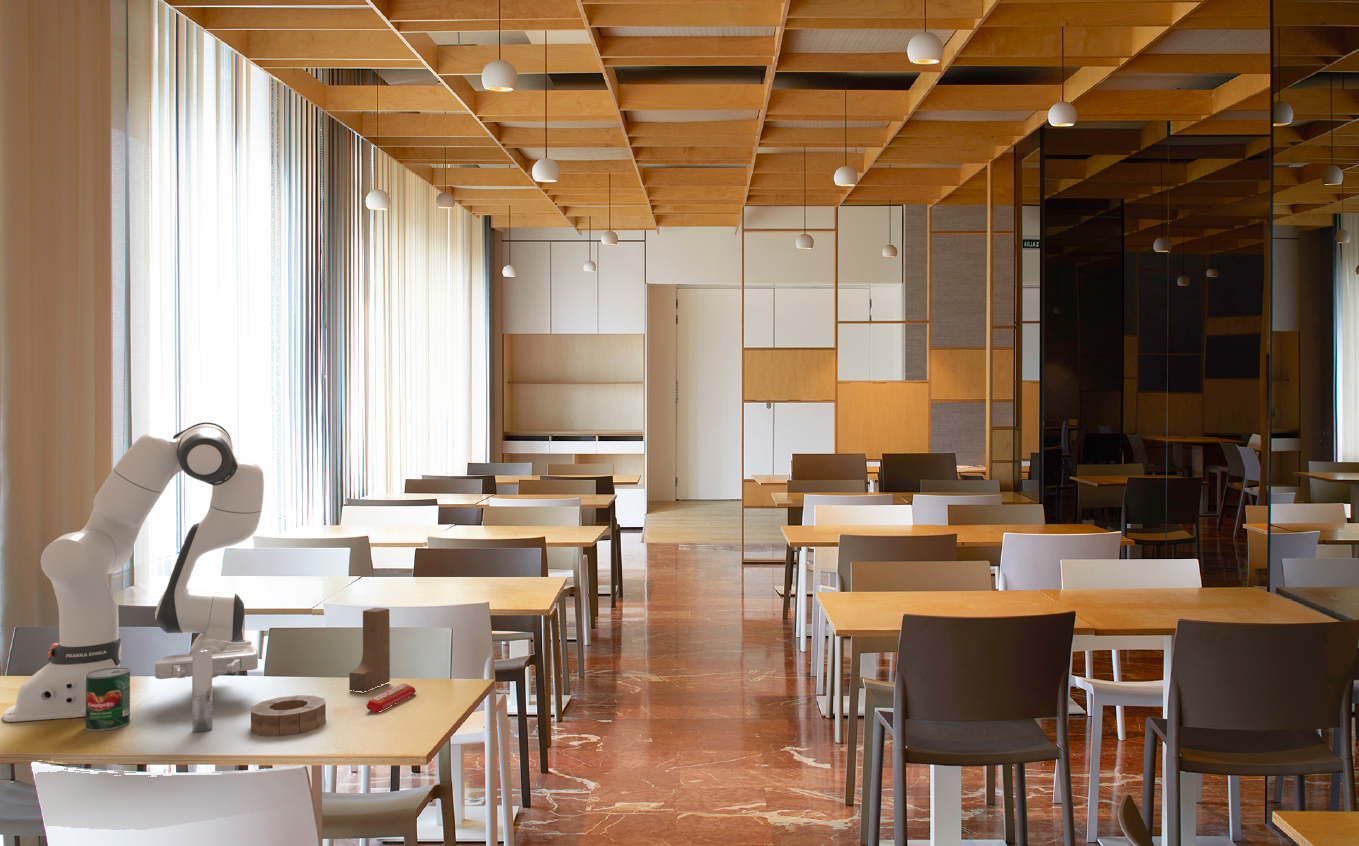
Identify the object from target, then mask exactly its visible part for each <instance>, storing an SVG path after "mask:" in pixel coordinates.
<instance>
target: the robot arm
mask: <svg viewBox="0 0 1359 846" xmlns="http://www.w3.org/2000/svg"><path fill="white" fill-rule="evenodd" d="M232 442H233V441H232V438H231V436H230V434H229V432H228V431H227V430H226V429H225V428H224V427H223V426H221V425H220V424H217V423H215V422H214V423H213V422H205V421H204V422H200V423H199V422H198V423H195V424H193V425H191V426H189V427H188V428H186V429H183V430H182V431H180V432H178V433H175V434H174V435H173V437H172V438H171V437H169V436H167V435H164V434H161V433H156V432H155V433H153V432H151V433H145V434H143V435H142V436H140V437H139V438H138V439H137V440H136V441H135V442H134V443H133V444H132V445H131V446H130V447H129V448H128V449H127V450H126V452H125V453H124V454H123V455H122V456H121V458H119V461H117V463H116V464H115V466H114V467H113V469H112V470H111V472H110V473H109V475H108V476H107V478H105V481H104V482H103V484H102V485H101V486H100V488H99V490H98V492H96V494H95V496H94V498H93V508H92V511H91V514H90V517H89V519H88V521H87V522H86V524H85V526H84V527H82V529H81V530H79V531H75V532H69V533H66V534H63V535H61V536H59V537H58V538H56V539H54V540H53V541H52V542H51V543H49V544H48V545H47V546H46V547H45V548H44V550H43V551H42V553H41V556H40V568H41V570H42V571H43V573H44V575H45V576H46V577H47V578H48V579H49V580H50V581H51V584H52V587H53V591H54V595H55V598H56V601H57V607H58V617H59V618H58V622H59V623H58V625H59V627H58V629H59V643H58V642H54V643H52V645H50V647H49V649H48V653H47V659H48V663H47V664H46V665H44V666H43V667H42V668H41V669H39V670H38V671H36V672H35V673H34V674H33V675H32V676H30V677H29V678H28V679H26V680H25V681H24V682H23V683H22V684H21V685H20V688H19V690H18V693H17V695H16V701H15V704H13V705H11V706H9V707H7V709H5V710H4V712H3V715H2V719H3V721H4V722H7V723H10V722H12V723H13V722H28V721H41V720H53V719H55V720H57V719H70V718H82V717H86V674H87V673H89V672H92V671H95V670H100V669H105V668H115V667H121V666H120V665H121V662H122V642H121V640H122V639H121V638H120V637H119V602H118V601H117V600H116V599H115V598H114V596H113V594H112V593H113V592H112V590H111V587H110V583H109V577H108V576H109V575H111V574H112V573H115V572H117V571H118V570H120V569H121V568H123V566H125V565H126V564H127V563H128V562H129V560H130V559H131V558H132V555H133V552H134V546H135V543H136V541H137V539H138V536H139V533H140V530H141V528H142V526H143V525H144V523H145V521H146V519H147V517H148V515H149V513H150V512H151V511H152V509H153V508H154V506H155V504H156V503H157V501H159V499H160V497H161V496H162V494H163V493H164V491H165V489H166V487H167V486H168V484H169V483H170V481H171V480H172V479H173V477H175V476H176V475H178V473H180V472H182V471H183V472H184V473H185V474H186V475H188V476H189V477H191V478H192V479H195V480H197V481H201V482H204V483H206V484H209V485H211V488H212V489H211V490H212V492H211V497H210V502H209V507H208V508H209V509H208V511H207V513H206V515H205V516H204V518H203V519H202V520H201V521H200V522H197V523H195V524H193V525H192V526H191V528H189V530H188V531H187V534H186V537H185V540H184V543H183V545H182V546H181V549H180V551H179V553H178V556H177V559H176V562H175V564H174V567H173V570H172V572H171V575H170V576H169V577H170V578H169V581H168V584H167V586H166V588H165V590H164V591H163V593H162V596H160V599H159V600H158V603H157V606H156V608H155V611H154V612H155V613H154V619H155V624H156V625H157V626H158V627H159V628H160V629H161V630H162V631H163V632H165V633H166V634H183V633H188V634H189V633H192V634H198V636H197V637H196V638H195V639H194V641H193V642H192V644H191V647H190V649H189V653H185V654H174V655H167V656H162V657H160V658H159V659H158V660H157V661H156V662H155V666H154V676H155V678H156V679H158V680H165V679H174V678H175V679H176V678H177V679H184V678H187V677H192V651H194V650H198V649H212V679H214V678H215V679H216V678H217V677H219V676H223V675H226V674H231V673H232V674H233V673H235V672H244V671H255V670H257V669H258V667H259V666H258V665H259V660H258V658H259V657H258V656H259V653H258V649H257V648H256V646H254V645H252V640H248V639H247V640H246V639H239V638H240V637H241V634H242V630H243V626H244V620H245V619H244V618H245V605H244V602H243V600H242V599H241V597H240V596H239V595H238V594H237V593H232V592H231V593H230V592H219V591H214V592H213V591H201V590H200V591H199V590H191V589H189V588H188V587H187V586H188V584H189V582H190V581H189V580H190V578H191V577H192V573H193V570H194V568H195V565H196V562H197V560H199V558H200V557H201V556H202V555H204V554H206V553H208V552H210V551H211V552H212V551H214V550H217V549H221V548H225V547H231V546H234V545H237V544H240V543H243V542H244V541H246V540H247V539H249V538H250V537H252V536H253V535H254V534H255V532H256V531H257V528H258V525H259V523H260V518H261V514H262V509H263V503H264V491H265V490H264V489H265V486H264V485H265V484H264V483H265V482H264V481H265V480H264V473H263V470H262V468H261V467H260V466H259V465H258V464H257V463H255V462H252V461H250V460H247V459H246V460H245V459H240V458H238V457H236V456H235V454H234V450H233V449H234V448H233V443H232Z"/></svg>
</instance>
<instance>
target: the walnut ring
mask: <svg viewBox="0 0 1359 846" xmlns="http://www.w3.org/2000/svg"><path fill="white" fill-rule="evenodd" d="M326 706H327V704H326V698H325V697H321V696H316V695H304V694H303V695H302V694H301V695H298V694H297V695H296V694H295V695H289V696H281V697H280V696H279V697H276V698H271V699H266V700H263V701H260V702H258V703H256V704H254V705H252V706H251V708H250V732H251V733H253V734H257V735H259V736H263V737H264V736H266V737H267V736H270V737H272V736H273V737H282V736H287V735H289V736H290V735H296V734H297V735H298V734H301V733H305V732H309V731H313V730H316V729H317V728H318V729H319V728H320V727H321V726H323V725H324V724H326V720H327V719H326V718H327V717H326V716H327V714H326V713H327V712H326V711H327V710H326Z"/></svg>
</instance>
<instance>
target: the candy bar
mask: <svg viewBox="0 0 1359 846" xmlns="http://www.w3.org/2000/svg"><path fill="white" fill-rule="evenodd" d="M416 693H417V690H416V688H415V687H414V686H412V685H410V684H408V683H401V684H399V685H397V686H395V687H393V688H390V689H388V690H386V691H384V692H382V693H379V694H378V695H375V696H374V697H372V698H370V699H369V700H368V702H367V704H365V706H366V708H367V710H370V711H373V712H374V711H375V713H377V712H379V711H381V710H384V709H386V708H388V707H390V706H391V705H394V704H395V703H398V702H400V701H402V700H404V699H406V698H408V697H410V696H412V695H413V694H414V695H415V694H416ZM414 695H413V696H414ZM413 696H412V697H413ZM410 698H411V697H410ZM408 699H409V698H408ZM406 700H407V699H406ZM404 701H405V700H404ZM402 702H403V701H402ZM400 703H401V702H400ZM398 704H399V703H398ZM394 706H395V705H394ZM390 708H391V707H390ZM388 709H389V708H388ZM386 710H387V709H386ZM384 711H385V710H384ZM379 713H380V712H379Z"/></svg>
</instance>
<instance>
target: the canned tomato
mask: <svg viewBox="0 0 1359 846" xmlns="http://www.w3.org/2000/svg"><path fill="white" fill-rule="evenodd" d="M130 718H131V668H129V667H125V666H124V667H123V666H122V667H121V666H120V667H115V668H105V669H100V670H95V671H92V672H89V673H87V674H86V716H85V727H84V728H85V731H88V732H106V730H107V731H111V730H117V729H120V728H119V727H121V728H123V726H124V727H126V726H127V724H128V725H129V724H130V723H131V719H130ZM125 725H126V726H125Z"/></svg>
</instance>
